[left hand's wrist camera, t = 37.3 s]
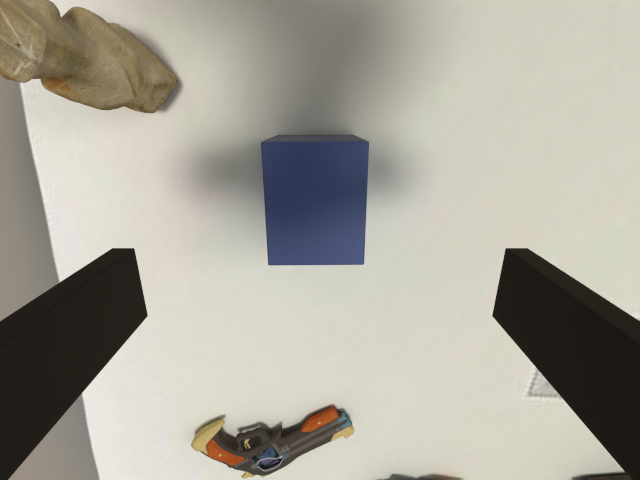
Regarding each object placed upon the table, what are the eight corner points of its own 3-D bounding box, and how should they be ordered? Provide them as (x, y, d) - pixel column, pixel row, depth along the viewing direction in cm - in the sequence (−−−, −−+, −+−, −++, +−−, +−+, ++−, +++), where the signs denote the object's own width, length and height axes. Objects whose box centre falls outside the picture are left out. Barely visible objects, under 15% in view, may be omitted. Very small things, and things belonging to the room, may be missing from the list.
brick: (281, 226, 36) (268, 265, 26) (277, 135, 33) (261, 141, 23) (351, 226, 36) (364, 264, 26) (353, 134, 33) (369, 141, 23)
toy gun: (183, 446, 42) (227, 504, 44) (317, 375, 41) (357, 439, 42) (191, 430, 45) (232, 485, 47) (317, 363, 43) (355, 423, 45)
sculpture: (126, 14, 29) (-51, -84, 15) (195, 78, 31) (93, 43, 17) (90, 69, 31) (-103, 26, 17) (157, 127, 32) (35, 134, 18)
